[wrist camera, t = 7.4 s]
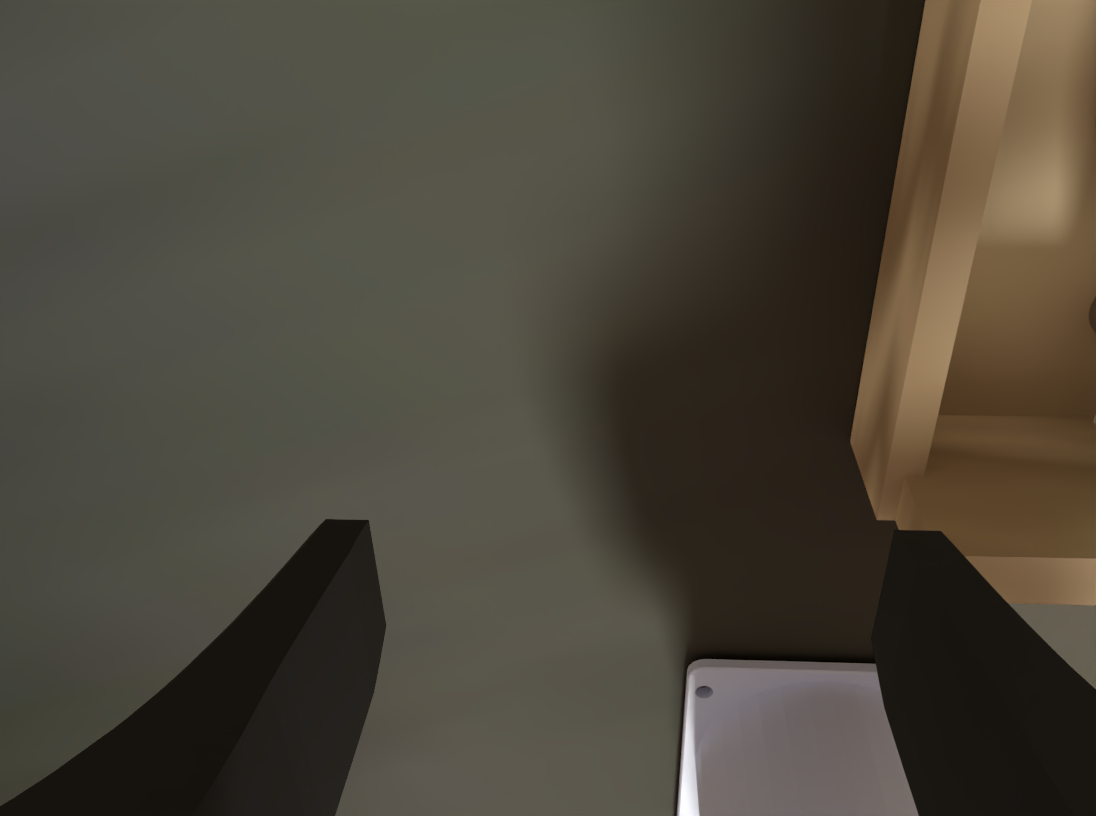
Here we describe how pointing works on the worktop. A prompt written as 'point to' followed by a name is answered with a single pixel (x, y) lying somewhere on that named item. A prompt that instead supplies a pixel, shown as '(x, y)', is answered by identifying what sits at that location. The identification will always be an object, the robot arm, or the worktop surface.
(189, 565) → the worktop surface
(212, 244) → the worktop surface
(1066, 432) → the peg cradle
